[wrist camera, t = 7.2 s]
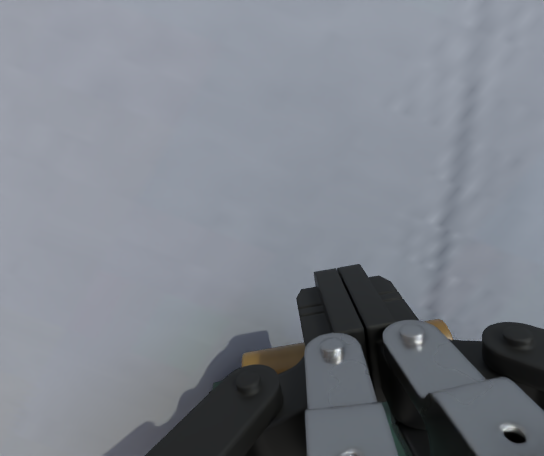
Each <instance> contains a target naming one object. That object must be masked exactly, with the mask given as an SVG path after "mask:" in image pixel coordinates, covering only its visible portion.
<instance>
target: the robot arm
mask: <svg viewBox="0 0 544 456" xmlns="http://www.w3.org/2000/svg"><path fill="white" fill-rule="evenodd" d="M314 278H315V285H316V287H312V288H306V289H301V291H300V293H299V294H298V296H297V298H296V299H297V305H298V310H299V316H300V321H301V327H302V332H303V338H304V343H305V351H304V356H303V358H302V359H301V360H300V362H299V363H297V364H296V365H295V366H294V367H292V368H290V369H288V370H286V371H284V372H282V373H279V374H277V372H276V371H275V370H274V369H272V368H271V367H269V366H266V365H260V364H254V365H248V366H244V367H241V368H239V369H237V370H235V371H233V372H232V373H230V374H229V375H228V376H227V377H226V378H225V379H224V380H223V381H222V382H221V383H220V384H219V385H218V386H217V387H216V388H215V389H213V390H212V391H211V392H210V393H209V394H208V395H207V396H206V397H205V398H204V399H203V400H202V401H201V402H200V403H199V404H198V405H197V406H196V407H195V408H194V409H193V410H192V411H191V412H190V413H189V414H188V415H187V416H186V417H184V418H183V419H182V420H181V421H180V422H179V423H178V424H177V425H176V426H175V427H174V428H173V429H172V430H171V431H170V432H169V433H168V434H167V435H166V436H165V437H164V438H163V439H162V440H161V441H160V442H159V443H158V444H157V445H156V446H154V447H153V448H152V449H151V450H150V451H149V452H148V453H147V454H146V455H145V456H398V453H397V449H396V446H395V443H394V440H393V436H392V433H391V430H390V426H389V423H388V420H387V417H386V413H385V410H384V407H383V405H382V402H387V403H388V406H389V408H390V415H391V424H392V428H393V430H394V432H395V434H396V436H397V438H398V440H399V442H400V444H401V446H402V448H403V450H404V452H405V454H406V456H544V329H541V328H537V327H534V326H531V325H527V324H522V323H515V322H502V323H496V324H493V325H490V326H489V327H487V328H486V329H485V330H484V331H483V334H482V341H460V340H451V339H448V338H447V337H446V336H445V335H444V334H443V333H442V332H441V331H440V330H439V329H438V328H437V327H435V326H434V325H432V324H429V323H427V322H423V321H419V320H418V318H417V317H416V316H415V314H414V313H413V311H412V310H411V309H410V307H409V306H408V305H407V303H406V302H405V301H404V299H402V297H401V295H400V294H399V292H397V290H396V288H395V287H394V286H393V284H392V283H391V282H390V281H388V280H386V279H384V278H383V277H381V276H374V277H368V276H367V275H366V273H365V272H364V270H363V268H362V267H361V265H360V264H357V265H351V266H345V267H340V268H337V270H336V268H335V269H329V270H323V271H318V272H314Z"/></svg>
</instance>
